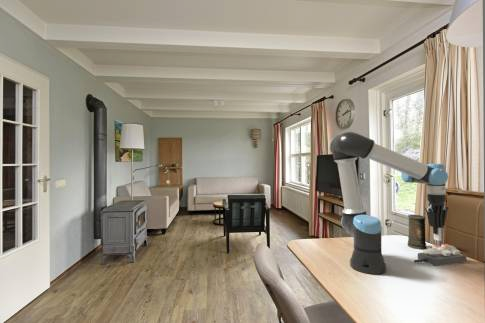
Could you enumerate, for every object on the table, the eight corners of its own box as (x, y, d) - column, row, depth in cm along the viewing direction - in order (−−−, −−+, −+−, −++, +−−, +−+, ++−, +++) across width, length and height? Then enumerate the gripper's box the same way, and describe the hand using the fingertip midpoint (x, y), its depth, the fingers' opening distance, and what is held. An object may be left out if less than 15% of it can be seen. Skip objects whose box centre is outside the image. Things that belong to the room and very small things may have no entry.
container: (404, 245, 147) (403, 215, 147) (413, 243, 151) (413, 213, 151) (420, 250, 139) (420, 218, 139) (430, 248, 143) (429, 216, 143)
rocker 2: (444, 257, 122) (446, 251, 121) (431, 249, 128) (433, 244, 127) (450, 256, 123) (451, 251, 122) (436, 249, 129) (438, 243, 128)
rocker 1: (437, 256, 119) (435, 249, 120) (424, 254, 125) (422, 248, 126) (442, 255, 120) (440, 248, 121) (429, 254, 126) (428, 247, 127)
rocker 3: (453, 256, 123) (455, 250, 122) (440, 248, 129) (442, 243, 129) (459, 255, 124) (460, 250, 123) (445, 248, 130) (447, 242, 130)
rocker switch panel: (424, 267, 116) (424, 260, 116) (406, 260, 125) (406, 254, 125) (466, 261, 123) (466, 255, 123) (447, 255, 132) (447, 249, 132)
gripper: (434, 195, 122) (435, 243, 122) (453, 194, 125) (455, 240, 125) (419, 193, 129) (420, 239, 129) (438, 192, 133) (439, 236, 132)
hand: (437, 240), depth 127 cm, fingers closed
